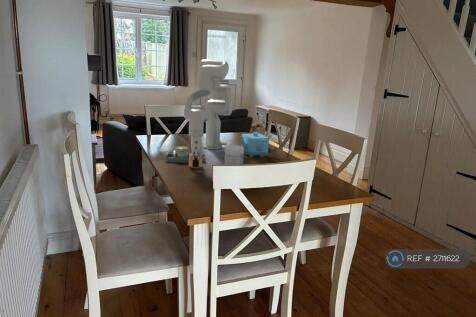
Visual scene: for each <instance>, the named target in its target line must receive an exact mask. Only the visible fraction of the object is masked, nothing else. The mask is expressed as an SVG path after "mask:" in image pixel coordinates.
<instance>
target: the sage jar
mask: <svg viewBox="0 0 476 317" xmlns="http://www.w3.org/2000/svg"><path fill="white" fill-rule="evenodd" d="M174 148H175V157H180V158H188V154H189V147H188V146H175V147H174Z"/></svg>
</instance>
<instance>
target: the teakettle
mask: <svg viewBox="0 0 476 317" xmlns="http://www.w3.org/2000/svg"><path fill="white" fill-rule="evenodd" d="M272 136H273V134H269V135H267V136H266V135H262V134H259V133H258V132H253V134H249V133H242V134H241V135H237V137H238V138H239V139H240V143H241V146H242V147H243V148H244V155H246V156H249V157H248V158H250V159H253V158H255V157H256V156H258V157H260V158H265V156H269V147H270V146H269V145H270V144H269V143H270V138H271V137H272Z"/></svg>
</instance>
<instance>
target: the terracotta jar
mask: <svg viewBox="0 0 476 317" xmlns="http://www.w3.org/2000/svg"><path fill="white" fill-rule="evenodd" d="M188 154H189V162H188V167H189V168H192V169H200V168H202V166H203V162H202V154H203V153H201V155H200V154H199V153H197V154H199V155H198V160H199V167H193V154H192V152H190V153H188ZM194 154H195V153H194Z"/></svg>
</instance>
